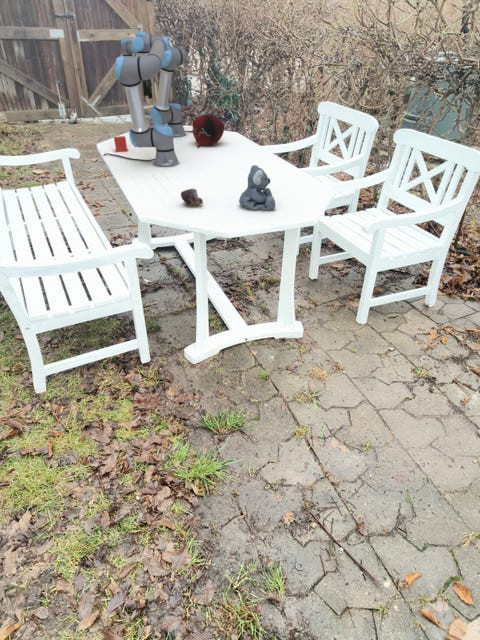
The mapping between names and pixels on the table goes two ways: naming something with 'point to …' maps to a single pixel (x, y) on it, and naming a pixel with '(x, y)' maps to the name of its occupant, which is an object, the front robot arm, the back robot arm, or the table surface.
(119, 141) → the brick
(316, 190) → the table surface
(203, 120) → the dark red round lump
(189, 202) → the rock
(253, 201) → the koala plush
